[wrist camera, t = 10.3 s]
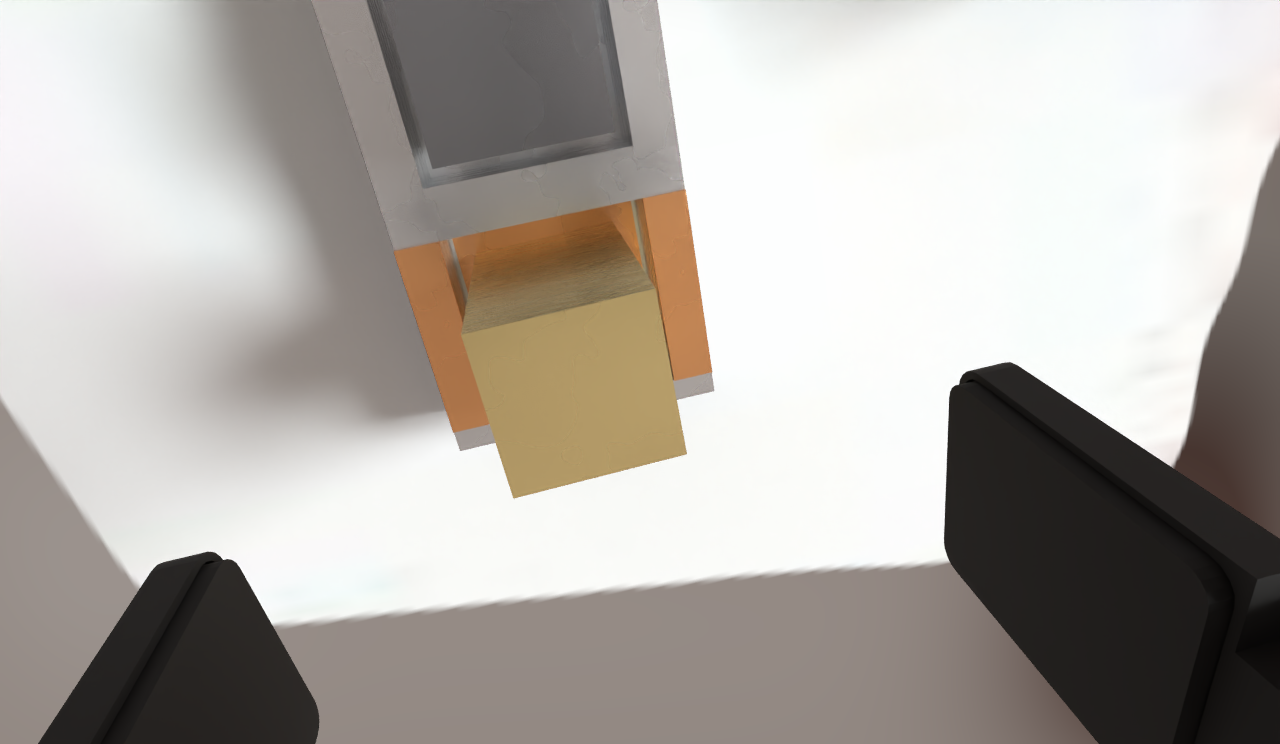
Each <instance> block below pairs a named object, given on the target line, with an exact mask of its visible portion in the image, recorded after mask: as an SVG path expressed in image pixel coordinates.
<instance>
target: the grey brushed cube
mask: <svg viewBox="0 0 1280 744" xmlns="http://www.w3.org/2000/svg"><path fill="white" fill-rule="evenodd" d="M383 2H384V5H385V9H386V12H387V16H388V19H389V23H390V26H391V29H392V33H393V36H394V40H395V43H396V46H397V50H398V53H399V57H400V60H401V64H402V67H403V70H404V74H405V77H406V81H407V84H408V88H409V91H410V94H411V98H412V101H413V105H414V108H415V111H416V115H417V118H418V122H419V125H420V129H421V132H422V135H423V139H424V142H425V146H426V149H427V153H428V156H429V159H430V163H431V166H432V169H436V168H441V167H446V166H451V165H456V164H461V163H466V162H471V161H476V160H480V159H485V158H490V157H495V156H500V155H505V154H510V153H515V152H520V151H525V150H529V149H534V148H539V147H544V146H549V145H554V144H559V143H564V142H569V141H574V140H578V139H583V138H588V137H593V136H598V135H603V134H608V133H613V132H615V128H614V122H613V117H612V111H611V106H610V100H609V95H608V89H607V84H606V78H605V73H604V67H603V62H602V56H601V51H600V45H599V39H598V34H597V28H596V23H595V17H594V12H593V6H592V1H591V0H383Z"/></svg>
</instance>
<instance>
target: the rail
mask: <svg viewBox="0 0 1280 744" xmlns="http://www.w3.org/2000/svg"><path fill="white" fill-rule="evenodd" d="M311 1H312V4H313V7H314V10H315V13H316V16H317V19H318V22H319V25H320V28H321V32H322V35H323V38H324V41H325V44H326V47H327V50H328V53H329V56H330V59H331V62H332V65H333V68H334V71H335V74H336V77H337V80H338V83H339V86H340V89H341V92H342V95H343V98H344V101H345V104H346V107H347V110H348V113H349V116H350V119H351V122H352V125H353V128H354V131H355V134H356V137H357V140H358V143H359V146H360V149H361V152H362V156H363V159H364V162H365V165H366V168H367V171H368V174H369V177H370V180H371V183H372V186H373V189H374V192H375V195H376V198H377V201H378V204H379V207H380V210H381V213H382V216H383V219H384V222H385V225H386V228H387V231H388V234H389V237H390V240H391V243H392V246H393V249H394V255H395V258H396V261H397V264H398V267H399V270H400V273H401V276H402V279H403V282H404V285H405V288H406V291H407V294H408V297H409V300H410V303H411V306H412V309H413V312H414V315H415V318H416V321H417V324H418V327H419V330H420V333H421V336H422V339H423V342H424V346H425V349H426V352H427V355H428V358H429V361H430V364H431V367H432V370H433V373H434V376H435V379H436V382H437V385H438V388H439V391H440V394H441V397H442V400H443V403H444V406H445V409H446V412H447V415H448V418H449V421H450V424H451V427H452V430H453V433H454V434H455V437H456V440H457V443H458V446H459V449H460V451H462V450H466V449H471V448H475V447H479V446H483V445H488V444H492V443H496V442H495V439H494V436H493V433H492V430H491V427H490V424H489V421H488V417H487V414H486V411H485V408H484V405H483V402H482V399H481V396H480V393H479V389H478V386H477V383H476V380H475V377H474V374H473V371H472V368H471V365H470V361H469V358H468V355H467V352H466V349H465V346H464V343H463V340H462V337H461V332H462V326H463V321H464V315H465V310H466V304H467V299H468V293H469V288H470V282H471V277H472V271H473V266H474V260H475V255H476V253H479V252H484V251H488V250H492V249H497V248H501V247H505V246H510V245H514V244H519V243H523V242H527V241H532V240H536V239H540V238H545V237H549V236H554V235H558V234H562V233H567V232H571V231H575V230H580V229H584V228H588V227H593V226H597V225H602V224H606V223H610V222H613V223H614V225H615V226H616V228H617V229H618V231H619V232H620V234H621V236H622V237H623V239H624V240H625V242H626V243H627V245H628V246H629V248H630V250H631V251H632V253H633V254H634V256H635V257H636V259H637V260H638V262H639V264H640V265H641V267H642V268H643V270H644V271H645V273H646V274H647V276H648V278H649V279H650V281H651V282H652V284H653V285H654V287H655V288H656V293H657V298H658V304H659V309H660V314H661V320H662V325H663V330H664V336H665V341H666V346H667V351H668V357H669V362H670V367H671V373H672V378H673V383H674V389H675V394H676V399H677V400H678V399H682V398H686V397H691V396H695V395H699V394H703V393H708V392H712V391H714V386H713V379H712V368H711V361H710V354H709V347H708V340H707V333H706V326H705V320H704V313H703V306H702V299H701V292H700V285H699V278H698V272H697V265H696V258H695V251H694V244H693V237H692V230H691V224H690V217H689V210H688V203H687V196H686V190H685V187H684V181H683V174H682V167H681V160H680V153H679V146H678V140H677V133H676V126H675V119H674V112H673V105H672V99H671V92H670V85H669V78H668V71H667V64H666V58H665V51H664V44H663V37H662V30H661V23H660V16H659V10H658V3H657V0H591V1H592V6H593V12H594V17H595V23H596V28H597V34H598V39H599V45H600V51H601V56H602V62H603V67H604V73H605V78H606V84H607V89H608V95H609V100H610V106H611V111H612V117H613V122H614V128H615V132H613V133H608V134H603V135H598V136H593V137H588V138H583V139H578V140H574V141H569V142H564V143H559V144H554V145H549V146H544V147H539V148H534V149H529V150H525V151H520V152H515V153H510V154H505V155H500V156H495V157H490V158H485V159H480V160H476V161H471V162H466V163H461V164H456V165H451V166H446V167H441V168H436V169H432V166H431V163H430V159H429V156H428V153H427V149H426V146H425V142H424V139H423V135H422V132H421V129H420V125H419V122H418V118H417V115H416V111H415V108H414V105H413V101H412V98H411V94H410V91H409V88H408V84H407V81H406V77H405V74H404V70H403V67H402V64H401V60H400V57H399V53H398V50H397V46H396V43H395V40H394V36H393V33H392V29H391V26H390V23H389V19H388V16H387V12H386V9H385V5H384V2H383V0H311Z"/></svg>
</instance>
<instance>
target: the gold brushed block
mask: <svg viewBox="0 0 1280 744" xmlns="http://www.w3.org/2000/svg"><path fill="white" fill-rule="evenodd" d="M461 337H462V340H463V343H464V346H465V349H466V352H467V355H468V358H469V361H470V365H471V368H472V371H473V374H474V377H475V380H476V383H477V386H478V389H479V393H480V396H481V399H482V402H483V405H484V408H485V411H486V414H487V417H488V421H489V424H490V427H491V430H492V433H493V436H494V439H495V442H496V446H497V449H498V452H499V455H500V458H501V461H502V464H503V467H504V470H505V474H506V477H507V480H508V483H509V486H510V489H511V492H512V495H513V498H517V497H521V496H525V495H529V494H533V493H537V492H541V491H545V490H549V489H553V488H557V487H560V486H564V485H568V484H572V483H576V482H580V481H584V480H588V479H592V478H596V477H600V476H603V475H607V474H611V473H615V472H619V471H623V470H627V469H631V468H635V467H639V466H643V465H646V464H650V463H654V462H658V461H662V460H666V459H670V458H674V457H678V456H682V455H686V454H687V452H686V447H685V442H684V436H683V431H682V426H681V420H680V415H679V410H678V404H677V399H676V394H675V389H674V383H673V378H672V373H671V367H670V362H669V357H668V351H667V346H666V341H665V336H664V330H663V325H662V320H661V314H660V309H659V304H658V298H657V293H656V288H655V287H654V285H653V284H652V282H651V281H650V279H649V278H648V276H647V274H646V273H645V271H644V270H643V268H642V267H641V265H640V264H639V262H638V260H637V259H636V257H635V256H634V254H633V253H632V251H631V250H630V248H629V246H628V245H627V243H626V242H625V240H624V239H623V237H622V236H621V234H620V232H619V231H618V229H617V228H616V226H615V225H614V223H613V222H610V223H606V224H602V225H597V226H593V227H588V228H584V229H580V230H575V231H571V232H567V233H562V234H558V235H554V236H549V237H545V238H540V239H536V240H532V241H527V242H523V243H519V244H514V245H510V246H505V247H501V248H497V249H492V250H488V251H484V252H479V253H476V255H475V260H474V266H473V271H472V277H471V282H470V288H469V293H468V299H467V304H466V310H465V315H464V321H463V326H462V332H461Z"/></svg>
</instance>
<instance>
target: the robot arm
mask: <svg viewBox="0 0 1280 744" xmlns="http://www.w3.org/2000/svg"><path fill="white" fill-rule="evenodd" d="M944 546H945V550H946V553H947V556H948V559H949V561H950V563H951V565H952V566H953V567H954V569H955V570H956V571H957V573H958V574H959V575H960V576H961V578H962V579H963V580H964V581H965V582H966V584H967V585H968V586H969V587H970V588H971V590H972V591H973V592H974V593H975V594H976V596H977V597H978V598H979V599H980V600H981V602H982V603H983V604H984V605H985V607H986V608H987V609H988V610H989V611H990V613H991V614H992V615H993V616H994V618H996V620H997V621H998V622H999V624H1000V625H1001V626H1002V627H1003V628H1004V630H1005V631H1006V632H1007V633H1008V634H1009V636H1010V637H1011V638H1012V639H1013V641H1014V642H1015V643H1016V644H1017V645H1018V646H1019V648H1020V649H1021V650H1022V651H1023V652H1024V654H1025V655H1026V656H1027V657H1028V658H1029V660H1030V661H1031V662H1032V664H1033V665H1034V666H1035V667H1036V668H1037V670H1038V671H1039V672H1040V673H1041V674H1042V675H1043V677H1044V678H1045V679H1046V680H1047V682H1048V683H1049V684H1050V685H1051V686H1052V687H1053V689H1054V690H1055V691H1056V692H1057V694H1058V695H1059V696H1060V697H1061V699H1062V700H1063V701H1064V702H1065V703H1066V704H1067V706H1068V707H1069V708H1070V710H1071V711H1072V712H1073V713H1074V714H1075V715H1076V717H1077V718H1078V719H1079V720H1080V722H1081V723H1082V724H1083V725H1084V726H1085V728H1086V729H1087V730H1088V731H1089V732H1090V734H1091V735H1092V736H1093V737H1094V739H1095V740H1096V741H1097V742H1098V743H1099V744H1280V539H1279V538H1278V537H1276V536H1275V535H1273V534H1272V533H1270V532H1269V531H1267V530H1266V529H1264V528H1263V527H1261V526H1260V525H1258V524H1257V523H1255V522H1254V521H1252V520H1250V519H1249V518H1247V517H1246V516H1244V515H1243V514H1241V513H1240V512H1238V511H1237V510H1235V509H1234V508H1232V507H1231V506H1229V505H1228V504H1226V503H1225V502H1223V501H1222V500H1220V499H1218V498H1217V497H1216V496H1214V495H1213V494H1211V493H1210V492H1208V491H1206V490H1205V489H1204V488H1202V487H1200V486H1199V485H1198V484H1196V483H1194V482H1193V481H1191V480H1190V479H1188V478H1187V477H1185V476H1184V475H1182V474H1181V473H1179V472H1178V471H1176V470H1175V469H1173V468H1172V467H1170V466H1169V465H1167V464H1166V463H1164V462H1163V461H1161V460H1160V459H1158V458H1157V457H1155V456H1154V455H1152V454H1151V453H1149V452H1148V451H1146V450H1145V449H1143V448H1142V447H1140V446H1139V445H1137V444H1136V443H1134V442H1132V441H1131V440H1129V439H1128V438H1126V437H1125V436H1123V435H1122V434H1120V433H1119V432H1117V431H1116V430H1114V429H1113V428H1111V427H1110V426H1108V425H1107V424H1105V423H1104V422H1102V421H1101V420H1099V419H1098V418H1096V417H1095V416H1093V415H1092V414H1090V413H1089V412H1087V411H1086V410H1084V409H1083V408H1081V407H1080V406H1078V405H1077V404H1075V403H1073V402H1072V401H1070V400H1069V399H1067V398H1066V397H1064V396H1063V395H1061V394H1060V393H1058V392H1057V391H1055V390H1054V389H1052V388H1051V387H1049V386H1048V385H1046V384H1045V383H1043V382H1042V381H1040V380H1039V379H1037V378H1036V377H1034V376H1033V375H1031V374H1030V373H1028V372H1027V371H1025V370H1024V369H1022V368H1021V367H1019V366H1018V365H1015V364H1013V363H1011V362H1008V363H1001V364H997V365H993V366H989V367H984V368H980V369H976V370H972V371H967V372H966V373H964V374H963V375H962V377H961V379H960V383H959V385H956V386H954V387H953V388H952V389H951V391H950V397H949V421H948V448H947V475H946V501H945V528H944ZM318 730H319V713H318V709H317V705H316V703H315V700H314V699H313V697H312V695H311V693H310V691H309V690H308V688H307V686H306V684H305V683H304V681H303V679H302V677H301V676H300V674H299V672H298V670H297V668H296V667H295V665H294V663H293V661H292V660H291V658H290V656H289V654H288V652H287V651H286V649H285V647H284V645H283V644H282V642H281V640H280V638H279V637H278V635H277V633H276V631H275V629H274V628H273V626H272V624H271V622H270V620H269V619H268V617H267V615H266V613H265V612H264V610H263V608H262V606H261V604H260V603H259V601H258V599H257V597H256V596H255V594H254V592H253V590H252V589H251V587H250V585H249V583H248V581H247V580H246V578H245V576H244V574H243V573H242V571H241V569H240V567H239V566H238V565H237V563H236V562H234V561H233V560H229V559H226V560H223V559H222V558H221V557H220V556H219V555H217V554H216V553H214V552H205V553H201V554H196V555H192V556H188V557H184V558H180V559H175V560H171V561H167V562H163V563H161V564H158V565H157V566H156V567H155V568H154V569H153V570H152V571H151V573H150V574H149V576H148V577H147V579H146V580H145V582H144V583H143V585H142V586H141V588H140V589H139V591H138V592H137V594H136V595H135V597H134V598H133V600H132V602H131V603H130V605H129V606H128V608H127V609H126V611H125V612H124V614H123V615H122V617H121V618H120V620H119V621H118V623H117V624H116V626H115V627H114V629H113V631H112V632H111V633H110V635H109V637H108V638H107V640H106V641H105V643H104V644H103V646H102V647H101V649H100V650H99V652H98V653H97V655H96V656H95V658H94V659H93V661H92V662H91V664H90V666H89V667H88V668H87V670H86V672H85V673H84V675H83V676H82V678H81V679H80V681H79V682H78V684H77V685H76V687H75V689H74V690H73V691H72V693H71V695H70V696H69V698H68V699H67V701H66V702H65V703H64V705H63V707H62V708H61V710H60V711H59V713H58V714H57V716H56V717H55V719H54V720H53V722H52V723H51V725H50V726H49V728H48V729H47V731H46V733H45V734H44V735H43V737H42V738H41V740H40V742H39V743H38V744H315V743H316V739H317V735H318Z"/></svg>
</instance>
